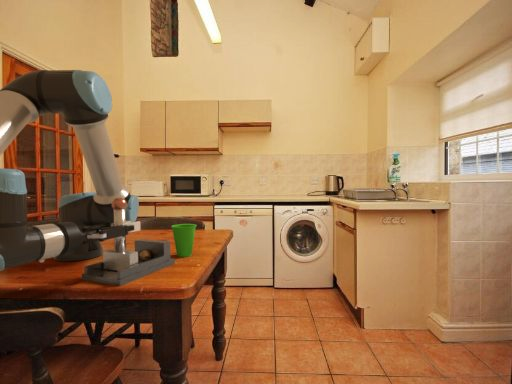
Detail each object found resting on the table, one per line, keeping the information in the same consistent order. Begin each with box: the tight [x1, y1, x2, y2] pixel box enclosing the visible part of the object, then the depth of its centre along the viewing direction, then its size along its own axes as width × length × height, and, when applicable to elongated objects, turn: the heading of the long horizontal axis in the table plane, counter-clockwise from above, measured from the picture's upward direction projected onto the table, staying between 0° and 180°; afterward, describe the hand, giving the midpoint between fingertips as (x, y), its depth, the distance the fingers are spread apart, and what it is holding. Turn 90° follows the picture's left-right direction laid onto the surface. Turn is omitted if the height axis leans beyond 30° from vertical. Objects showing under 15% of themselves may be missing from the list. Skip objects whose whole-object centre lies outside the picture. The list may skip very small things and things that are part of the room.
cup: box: [170, 223, 197, 258], centre depth 102 cm, size 9×9×11 cm
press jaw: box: [102, 198, 138, 271], centre depth 80 cm, size 4×10×20 cm, turn 68°
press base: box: [81, 238, 176, 287], centre depth 84 cm, size 22×14×8 cm, turn 158°
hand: (134, 225), depth 85 cm, fingers closed on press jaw, 3 cm apart
